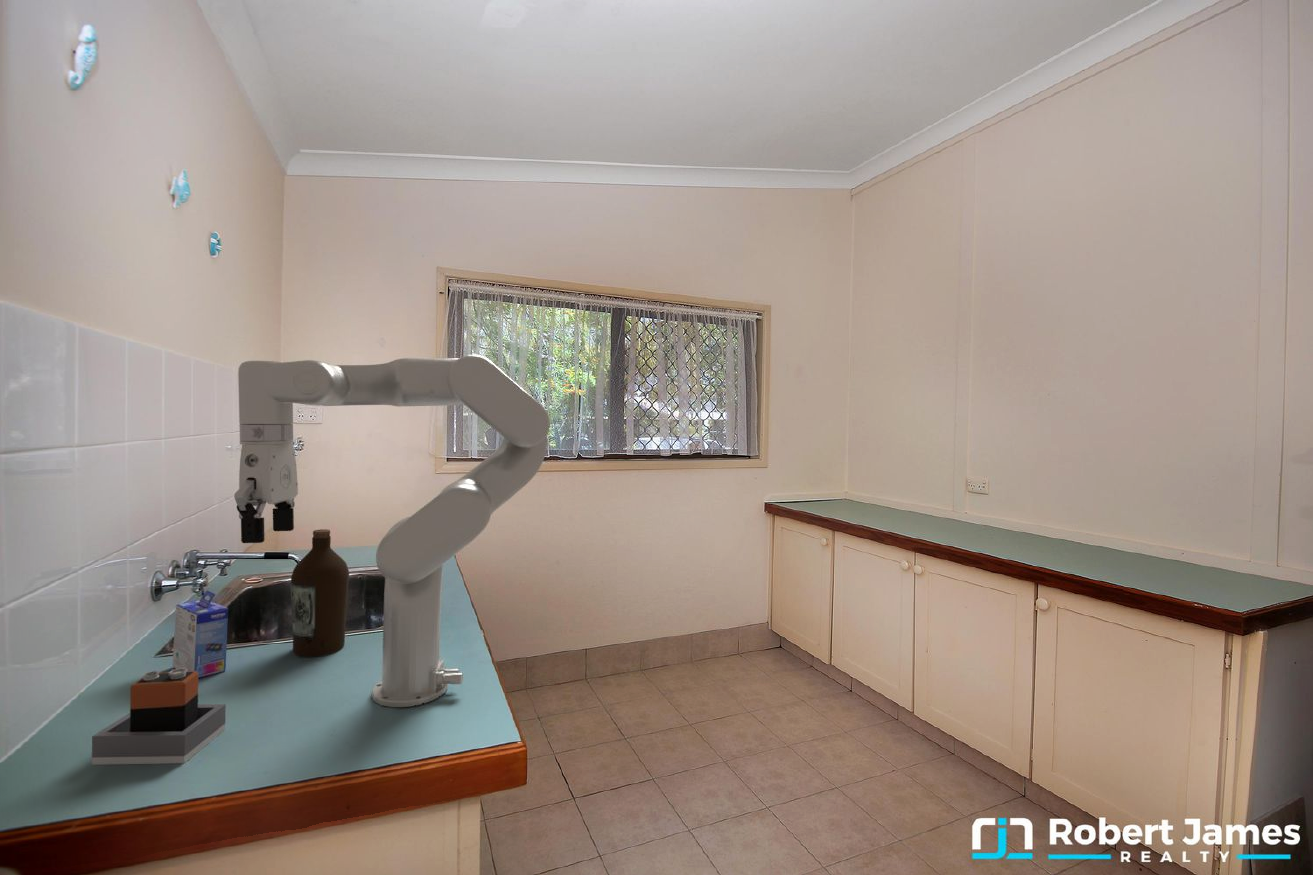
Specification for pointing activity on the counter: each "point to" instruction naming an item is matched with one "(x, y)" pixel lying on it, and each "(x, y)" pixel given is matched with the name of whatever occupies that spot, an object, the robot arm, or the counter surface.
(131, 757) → the charging cradle
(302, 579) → the olive oil
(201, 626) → the ink cartridge box
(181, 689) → the battery
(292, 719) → the counter surface
